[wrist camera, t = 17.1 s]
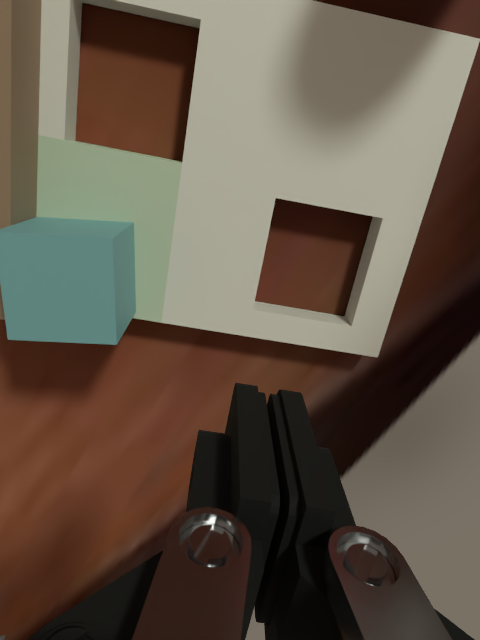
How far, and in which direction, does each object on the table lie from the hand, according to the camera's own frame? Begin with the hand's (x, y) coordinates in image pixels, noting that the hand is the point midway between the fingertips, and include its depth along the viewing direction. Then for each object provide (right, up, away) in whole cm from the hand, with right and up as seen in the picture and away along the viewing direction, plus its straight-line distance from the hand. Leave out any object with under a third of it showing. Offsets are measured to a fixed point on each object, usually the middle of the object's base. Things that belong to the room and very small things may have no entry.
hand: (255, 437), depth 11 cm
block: (-10, +6, +18) cm, 21 cm away
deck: (-1, +12, +18) cm, 22 cm away
